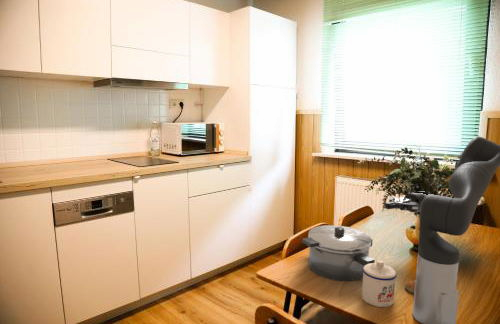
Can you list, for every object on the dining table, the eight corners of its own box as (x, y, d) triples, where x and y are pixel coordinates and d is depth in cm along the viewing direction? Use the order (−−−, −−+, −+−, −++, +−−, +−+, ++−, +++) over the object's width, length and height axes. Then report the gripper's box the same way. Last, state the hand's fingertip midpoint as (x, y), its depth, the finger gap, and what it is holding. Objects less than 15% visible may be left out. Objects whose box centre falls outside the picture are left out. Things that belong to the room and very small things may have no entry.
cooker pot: (398, 280, 110) (400, 251, 108) (342, 294, 101) (344, 262, 99) (337, 246, 137) (339, 222, 136) (289, 254, 128) (290, 229, 127)
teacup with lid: (381, 311, 92) (384, 271, 91) (354, 296, 100) (356, 259, 98) (406, 299, 99) (410, 261, 97) (379, 285, 106) (382, 250, 105)
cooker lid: (384, 246, 112) (385, 234, 111) (325, 257, 102) (326, 245, 102) (343, 226, 131) (343, 216, 130) (289, 234, 121) (290, 224, 121)
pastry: (407, 295, 101) (408, 283, 101) (402, 284, 108) (403, 273, 107) (441, 299, 99) (442, 287, 99) (434, 288, 106) (435, 277, 105)
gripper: (406, 188, 137) (373, 192, 130) (435, 196, 125) (401, 200, 118) (404, 206, 138) (372, 211, 131) (433, 215, 126) (399, 221, 119)
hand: (386, 206), depth 124 cm, fingers closed
